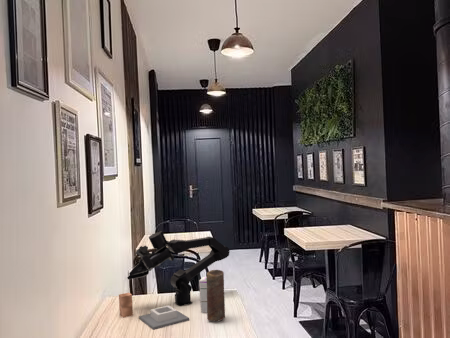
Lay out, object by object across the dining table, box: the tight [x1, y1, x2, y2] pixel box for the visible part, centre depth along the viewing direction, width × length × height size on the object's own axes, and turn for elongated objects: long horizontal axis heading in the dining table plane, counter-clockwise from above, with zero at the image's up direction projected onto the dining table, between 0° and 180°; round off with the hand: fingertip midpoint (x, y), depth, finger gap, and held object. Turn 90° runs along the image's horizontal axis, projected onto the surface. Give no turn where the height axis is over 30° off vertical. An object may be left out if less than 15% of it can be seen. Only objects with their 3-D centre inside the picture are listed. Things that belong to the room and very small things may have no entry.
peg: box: [118, 292, 134, 319], centre depth 181 cm, size 4×4×9 cm
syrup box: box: [198, 276, 207, 314], centre depth 182 cm, size 6×6×14 cm
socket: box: [138, 304, 190, 330], centre depth 174 cm, size 16×16×4 cm
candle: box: [206, 269, 226, 323], centre depth 170 cm, size 8×7×20 cm
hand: (128, 276), depth 181 cm, fingers open, 9 cm apart
